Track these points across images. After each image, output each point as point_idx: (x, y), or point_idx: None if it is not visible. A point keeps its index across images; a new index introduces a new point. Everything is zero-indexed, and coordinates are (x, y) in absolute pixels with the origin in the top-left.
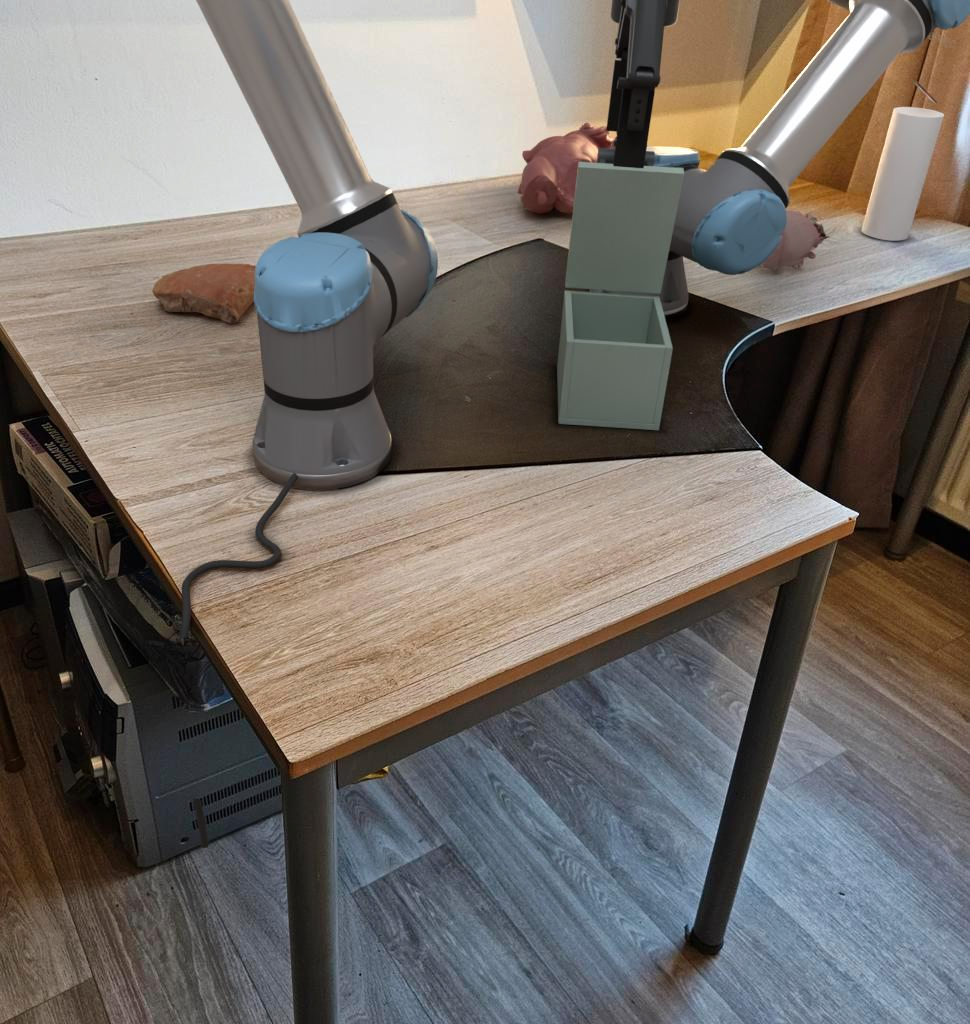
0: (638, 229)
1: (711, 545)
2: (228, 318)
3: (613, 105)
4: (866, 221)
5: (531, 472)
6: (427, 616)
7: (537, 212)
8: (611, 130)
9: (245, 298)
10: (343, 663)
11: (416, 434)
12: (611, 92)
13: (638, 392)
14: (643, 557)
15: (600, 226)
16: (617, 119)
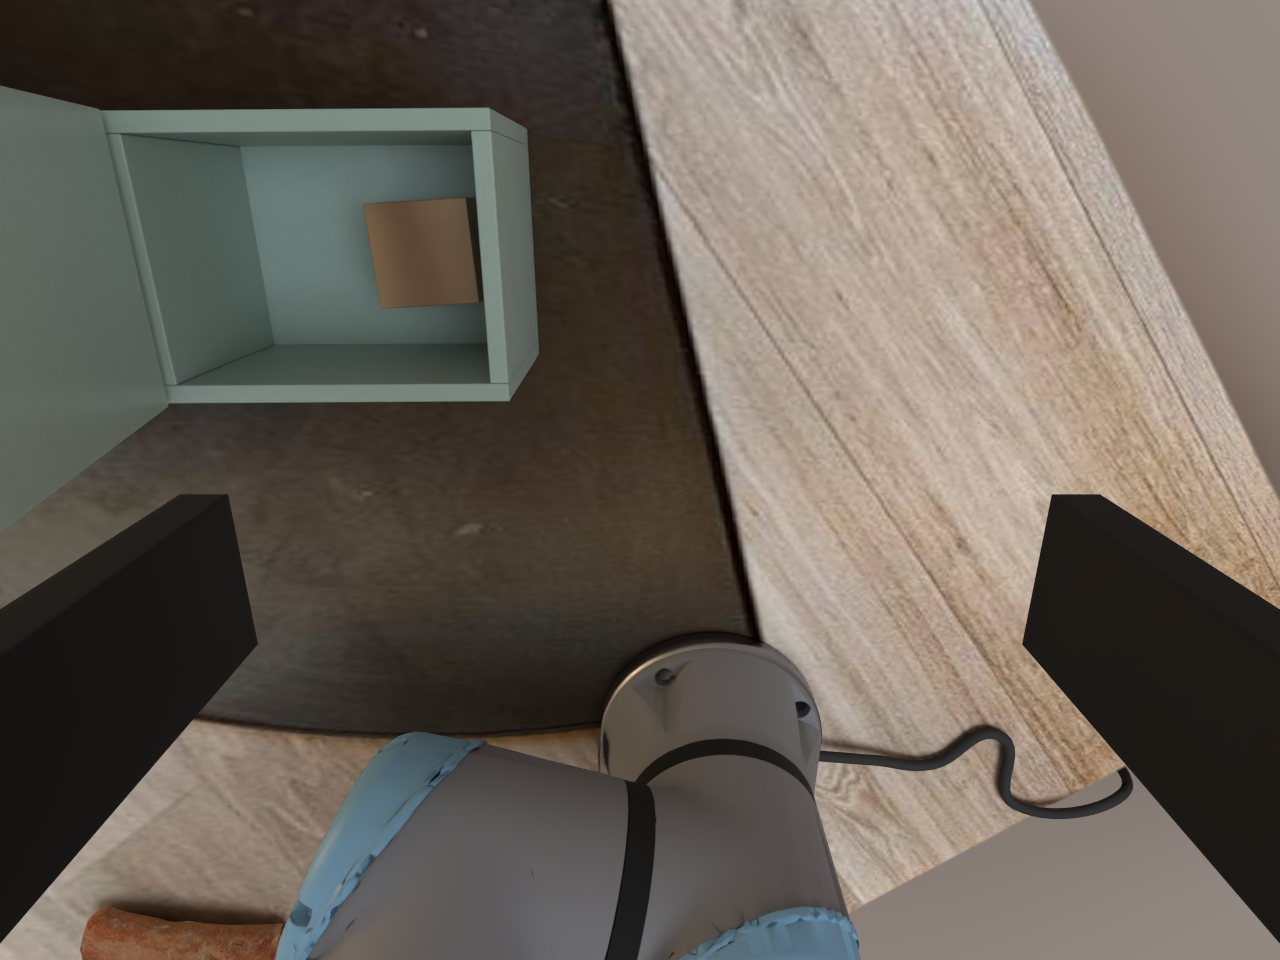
0: (14, 228)
1: (969, 60)
2: None
3: (170, 719)
4: None
5: (731, 403)
6: None
7: None
8: (249, 621)
9: (228, 943)
10: None
11: (622, 601)
12: (115, 804)
13: (516, 190)
14: (1002, 204)
15: (55, 375)
16: (213, 632)
